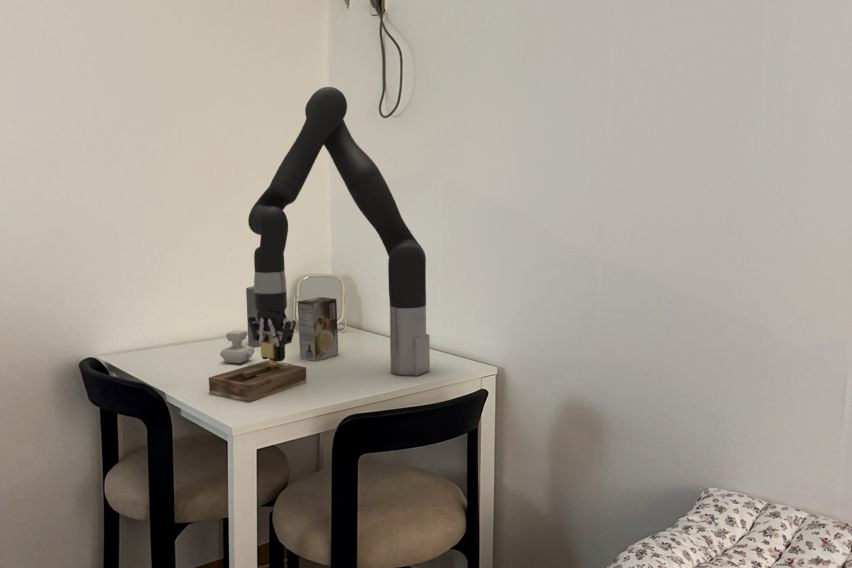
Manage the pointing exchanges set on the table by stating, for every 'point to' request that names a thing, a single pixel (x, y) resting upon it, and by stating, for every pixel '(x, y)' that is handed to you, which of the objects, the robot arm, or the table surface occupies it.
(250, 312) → the hip flask
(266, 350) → the brass keyhole peg
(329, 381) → the table surface
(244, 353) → the stamp
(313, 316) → the coffee box
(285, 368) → the keyhole plate
